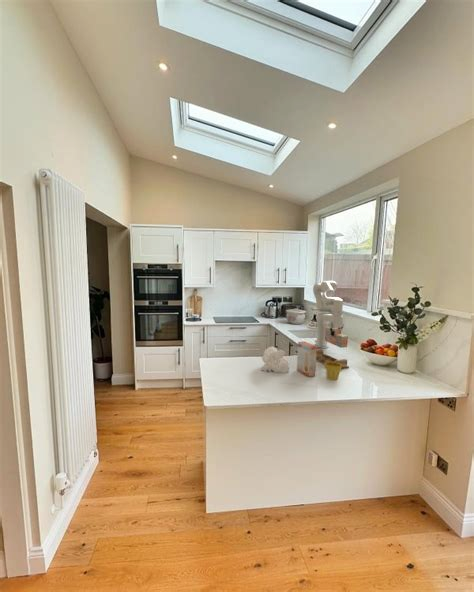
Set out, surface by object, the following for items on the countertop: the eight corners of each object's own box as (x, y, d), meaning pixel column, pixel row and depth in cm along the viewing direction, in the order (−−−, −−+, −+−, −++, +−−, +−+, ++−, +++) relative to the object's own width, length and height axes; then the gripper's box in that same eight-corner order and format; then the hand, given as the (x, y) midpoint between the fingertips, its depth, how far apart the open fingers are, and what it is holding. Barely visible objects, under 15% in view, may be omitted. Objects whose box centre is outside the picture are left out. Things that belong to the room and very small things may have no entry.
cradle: (310, 357, 238) (310, 350, 238) (321, 356, 243) (322, 349, 243) (336, 370, 211) (336, 361, 210) (348, 368, 216) (349, 359, 215)
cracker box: (315, 376, 198) (317, 345, 196) (308, 377, 195) (310, 346, 193) (303, 369, 210) (304, 340, 208) (296, 370, 208) (297, 341, 206)
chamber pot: (306, 326, 375) (307, 309, 373) (284, 324, 379) (285, 308, 377) (305, 322, 402) (306, 307, 400) (285, 321, 407) (285, 306, 405)
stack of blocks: (347, 347, 234) (348, 332, 232) (340, 348, 232) (342, 332, 230) (330, 340, 254) (331, 326, 252) (324, 340, 252) (325, 326, 250)
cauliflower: (299, 360, 201) (276, 346, 196) (284, 386, 199) (260, 372, 195) (288, 354, 219) (267, 341, 215) (274, 377, 217) (252, 364, 213)
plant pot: (338, 382, 187) (339, 367, 186) (322, 379, 193) (323, 364, 192) (342, 377, 196) (343, 363, 195) (326, 374, 202) (327, 360, 201)
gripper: (342, 312, 247) (340, 333, 249) (325, 313, 240) (324, 335, 242) (348, 314, 240) (347, 335, 243) (332, 315, 233) (330, 337, 236)
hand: (335, 335), depth 243 cm, fingers closed on stack of blocks, 6 cm apart
